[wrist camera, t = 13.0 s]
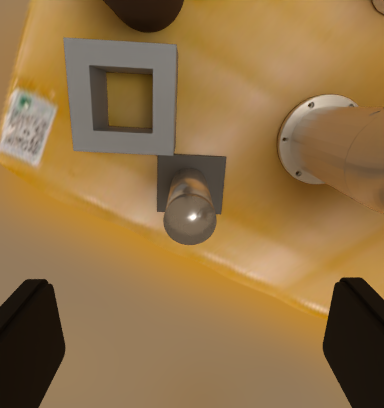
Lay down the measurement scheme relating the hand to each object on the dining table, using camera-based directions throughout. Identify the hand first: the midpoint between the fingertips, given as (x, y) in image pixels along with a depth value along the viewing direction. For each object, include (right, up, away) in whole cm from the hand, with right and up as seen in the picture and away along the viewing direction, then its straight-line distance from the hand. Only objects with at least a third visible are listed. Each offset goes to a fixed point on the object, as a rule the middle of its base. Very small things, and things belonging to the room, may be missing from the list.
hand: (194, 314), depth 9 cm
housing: (-8, +18, +29) cm, 35 cm away
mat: (0, +7, +33) cm, 34 cm away
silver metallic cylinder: (0, +7, +33) cm, 34 cm away
